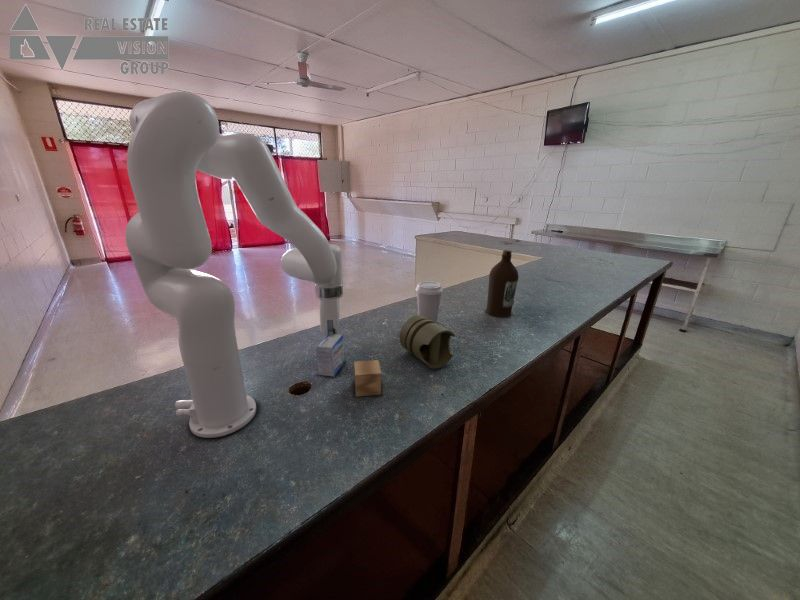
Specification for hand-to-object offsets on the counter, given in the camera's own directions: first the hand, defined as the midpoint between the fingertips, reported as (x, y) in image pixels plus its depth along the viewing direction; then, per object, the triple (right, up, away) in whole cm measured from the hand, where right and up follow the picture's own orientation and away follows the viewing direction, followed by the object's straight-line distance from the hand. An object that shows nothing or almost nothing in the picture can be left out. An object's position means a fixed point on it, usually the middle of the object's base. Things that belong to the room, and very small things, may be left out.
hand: (332, 349), depth 93 cm
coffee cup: (+30, +6, +21) cm, 37 cm away
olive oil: (+59, +9, +33) cm, 68 cm away
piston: (+28, -3, -1) cm, 28 cm away
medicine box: (+1, -4, -7) cm, 8 cm away
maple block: (+12, -7, -15) cm, 20 cm away
